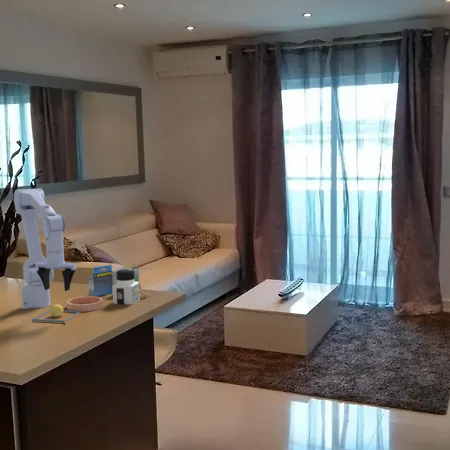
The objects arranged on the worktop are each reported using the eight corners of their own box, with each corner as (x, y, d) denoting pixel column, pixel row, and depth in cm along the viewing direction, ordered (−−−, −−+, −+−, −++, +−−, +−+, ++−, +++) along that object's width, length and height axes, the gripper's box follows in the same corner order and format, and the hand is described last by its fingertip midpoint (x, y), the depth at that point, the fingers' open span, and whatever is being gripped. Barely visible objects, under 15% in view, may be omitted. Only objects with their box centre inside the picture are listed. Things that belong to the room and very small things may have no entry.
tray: (32, 322, 206) (32, 318, 205) (50, 313, 217) (50, 309, 217) (64, 324, 203) (64, 320, 203) (81, 314, 214) (81, 311, 214)
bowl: (60, 313, 217) (60, 304, 217) (77, 304, 229) (76, 295, 229) (93, 314, 214) (93, 305, 214) (108, 305, 226) (108, 297, 226)
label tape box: (107, 293, 246) (106, 263, 245) (113, 294, 243) (112, 264, 242) (88, 297, 240) (87, 266, 238) (94, 298, 237) (93, 267, 236)
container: (132, 306, 224) (131, 271, 222) (113, 306, 225) (111, 271, 224) (139, 301, 231) (138, 267, 230) (120, 300, 233) (119, 267, 231)
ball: (48, 318, 208) (47, 306, 208) (55, 315, 213) (53, 302, 212) (59, 318, 207) (58, 306, 207) (66, 315, 211) (65, 302, 211)
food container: (127, 298, 237) (126, 272, 236) (115, 296, 240) (114, 271, 239) (147, 291, 247) (146, 267, 246) (136, 290, 251) (135, 266, 249)
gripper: (29, 252, 206) (31, 291, 208) (68, 253, 202) (70, 293, 204) (40, 248, 213) (42, 286, 214) (78, 249, 209) (80, 288, 211)
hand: (57, 289), depth 210 cm, fingers open, 7 cm apart
